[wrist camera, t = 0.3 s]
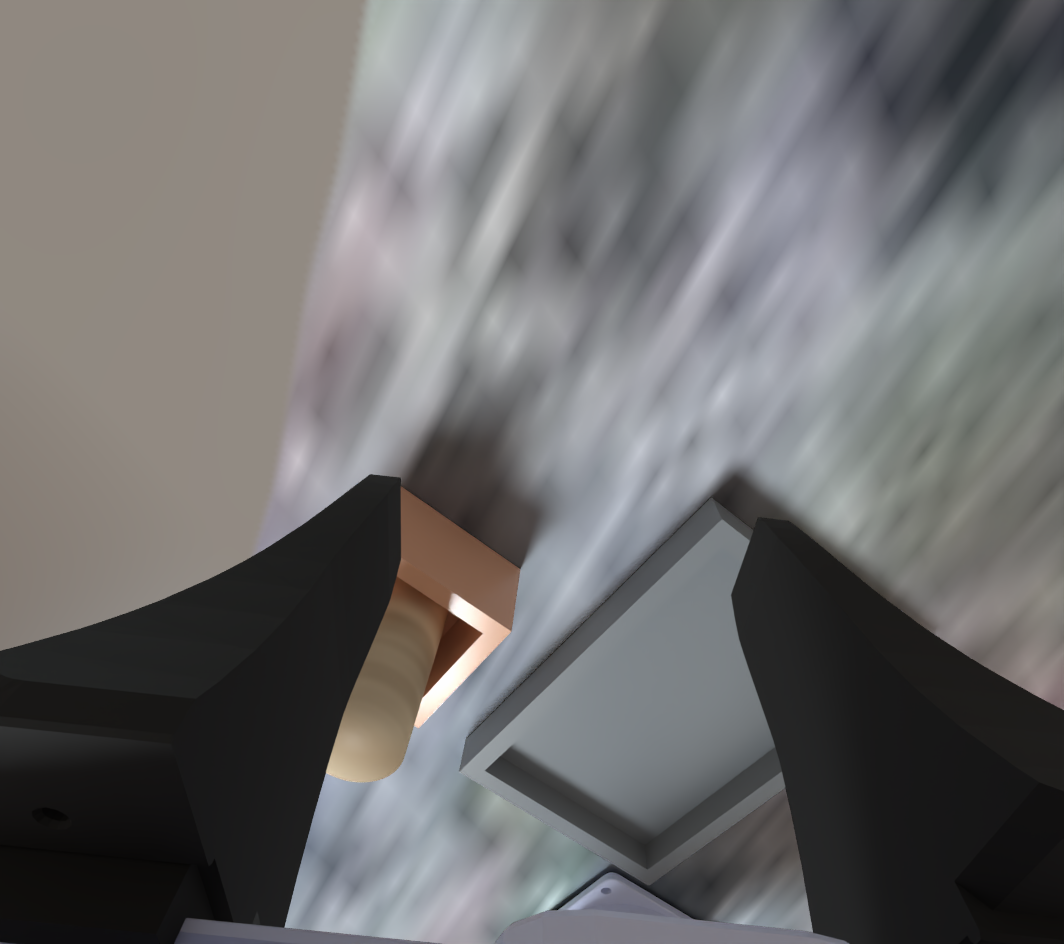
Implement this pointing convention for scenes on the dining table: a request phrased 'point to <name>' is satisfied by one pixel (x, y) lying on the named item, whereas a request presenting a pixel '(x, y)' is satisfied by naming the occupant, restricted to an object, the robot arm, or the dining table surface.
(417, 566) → the open box
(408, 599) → the dowel
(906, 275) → the dining table surface
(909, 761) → the robot arm
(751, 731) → the tray
